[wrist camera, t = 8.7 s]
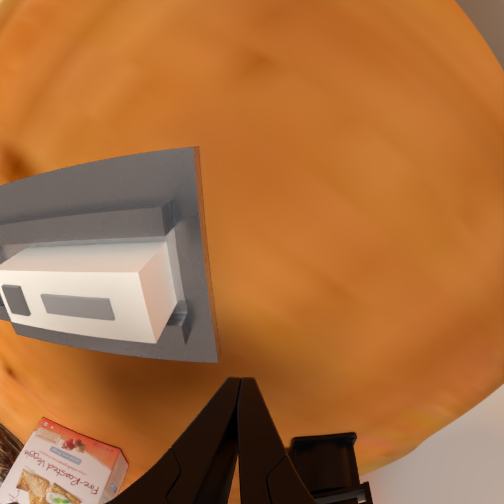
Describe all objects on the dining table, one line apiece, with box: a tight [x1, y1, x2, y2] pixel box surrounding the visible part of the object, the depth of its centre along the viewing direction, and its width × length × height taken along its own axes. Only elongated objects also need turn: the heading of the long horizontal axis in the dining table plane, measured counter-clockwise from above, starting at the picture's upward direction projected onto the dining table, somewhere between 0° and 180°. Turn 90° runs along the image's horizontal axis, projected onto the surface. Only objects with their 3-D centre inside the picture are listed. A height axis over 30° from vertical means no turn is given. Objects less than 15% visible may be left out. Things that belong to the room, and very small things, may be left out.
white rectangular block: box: [0, 242, 177, 343], centre depth 15 cm, size 12×4×4 cm, turn 93°
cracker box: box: [0, 417, 129, 504], centre depth 20 cm, size 14×6×21 cm, turn 85°
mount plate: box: [0, 146, 221, 363], centre depth 17 cm, size 21×14×3 cm, turn 93°
